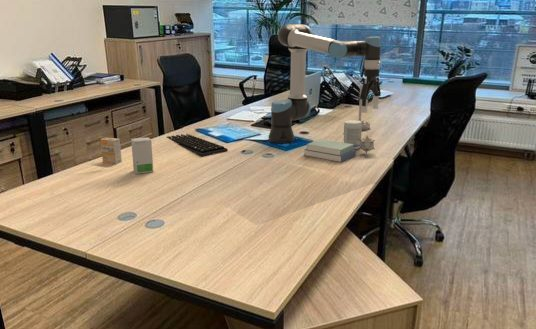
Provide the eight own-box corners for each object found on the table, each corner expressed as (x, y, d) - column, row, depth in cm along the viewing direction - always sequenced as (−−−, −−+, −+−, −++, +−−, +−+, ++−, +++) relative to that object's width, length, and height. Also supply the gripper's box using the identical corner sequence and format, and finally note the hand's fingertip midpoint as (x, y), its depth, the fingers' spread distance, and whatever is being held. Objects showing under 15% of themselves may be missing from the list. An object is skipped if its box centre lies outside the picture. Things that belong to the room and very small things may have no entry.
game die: (376, 152, 238) (377, 134, 235) (373, 156, 230) (374, 137, 227) (359, 150, 241) (360, 132, 238) (355, 154, 234) (356, 136, 231)
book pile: (303, 155, 234) (304, 144, 232) (319, 149, 246) (319, 138, 244) (341, 162, 221) (341, 150, 219) (355, 155, 233) (356, 144, 231)
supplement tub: (364, 148, 247) (365, 122, 243) (351, 150, 242) (353, 124, 238) (352, 144, 255) (353, 119, 250) (339, 147, 250) (340, 121, 245)
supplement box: (102, 165, 220) (99, 139, 217) (109, 162, 225) (106, 137, 221) (116, 166, 218) (113, 140, 214) (122, 163, 222) (119, 138, 218)
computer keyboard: (163, 142, 265) (163, 136, 264) (187, 138, 274) (187, 132, 273) (202, 158, 231) (201, 151, 230) (227, 153, 240) (227, 146, 239)
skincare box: (136, 174, 205) (132, 141, 201) (133, 170, 211) (130, 138, 206) (154, 171, 209) (151, 139, 204) (151, 168, 215) (148, 136, 210)
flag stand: (371, 132, 283) (374, 85, 275) (350, 133, 284) (353, 85, 275) (367, 128, 296) (369, 82, 287) (347, 128, 296) (349, 83, 287)
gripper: (368, 70, 213) (366, 114, 219) (388, 67, 232) (386, 107, 238) (354, 70, 217) (352, 113, 223) (374, 66, 236) (372, 106, 242)
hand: (369, 110), depth 230 cm, fingers open, 13 cm apart
